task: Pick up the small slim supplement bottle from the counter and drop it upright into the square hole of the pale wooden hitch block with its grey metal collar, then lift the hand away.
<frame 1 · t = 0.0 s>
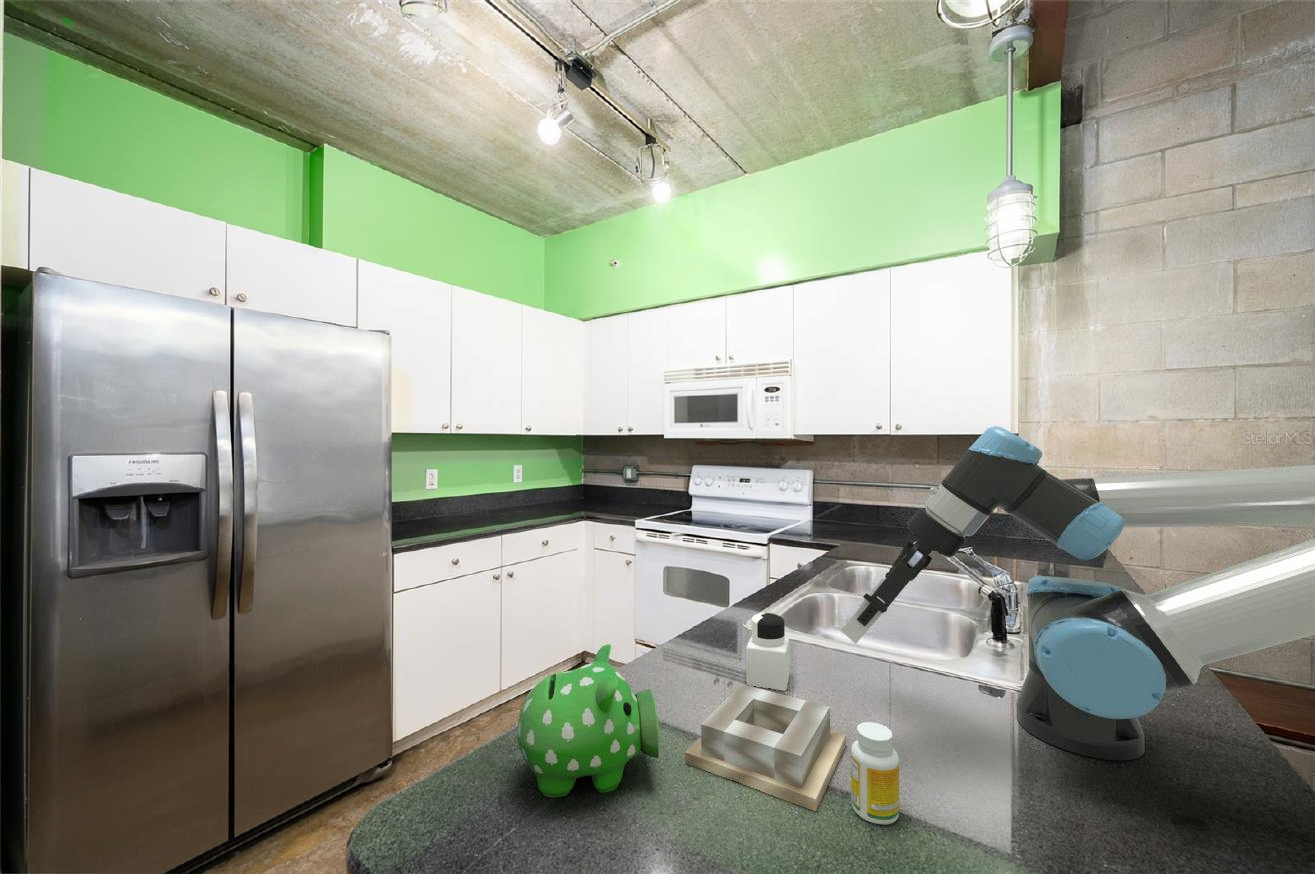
hand: (857, 622, 83), 15 cm above the countertop, tool tilted 35°, fingers open, 13 cm apart
supplement bottle: (875, 811, 62), on the countertop
hitch block: (767, 753, 74), on the countertop
piggy bank: (587, 776, 70), on the countertop
medicine bottle: (768, 681, 97), on the countertop
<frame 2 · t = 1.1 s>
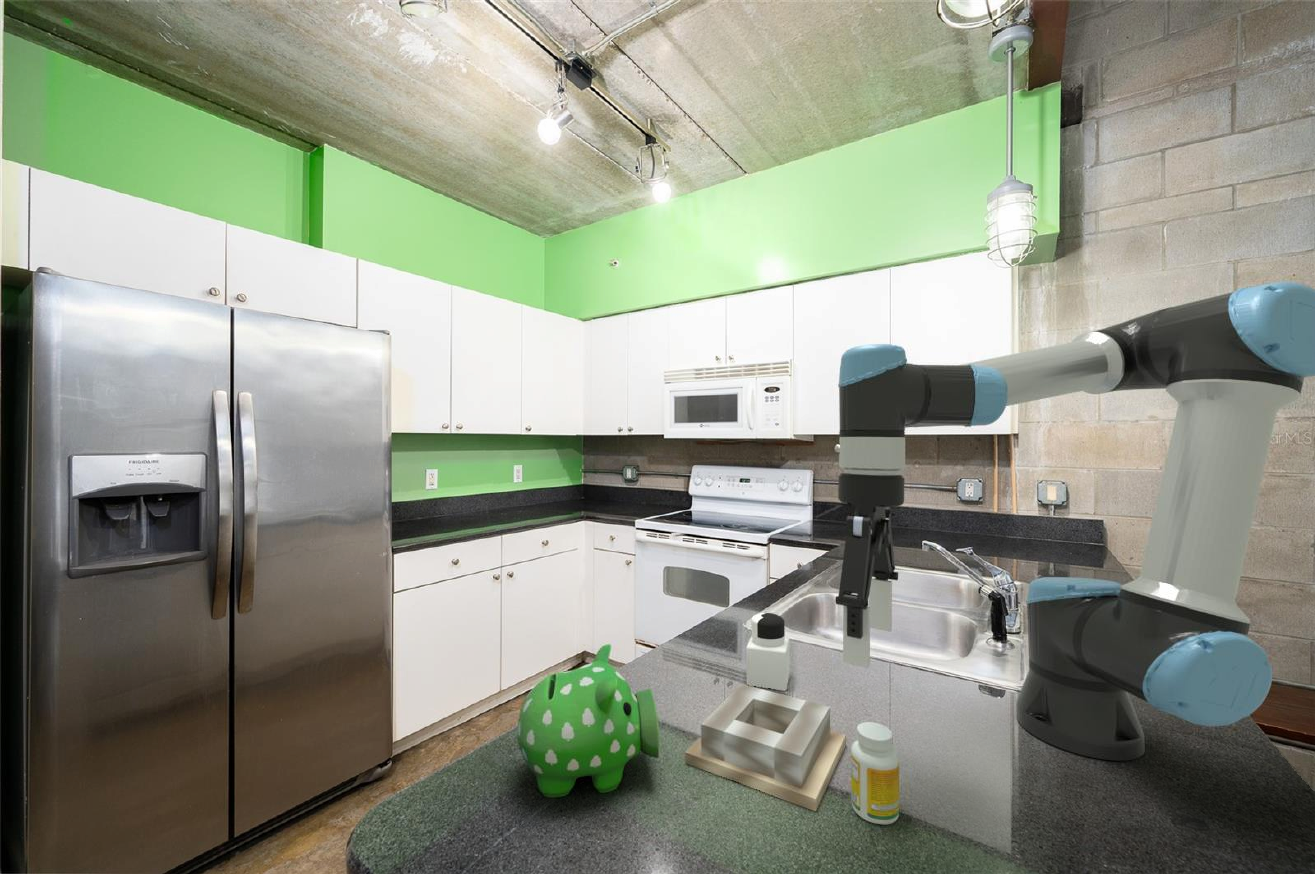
hand: (869, 645, 64), 19 cm above the countertop, tool pointing down, fingers open, 13 cm apart
nothing on the countertop moved.
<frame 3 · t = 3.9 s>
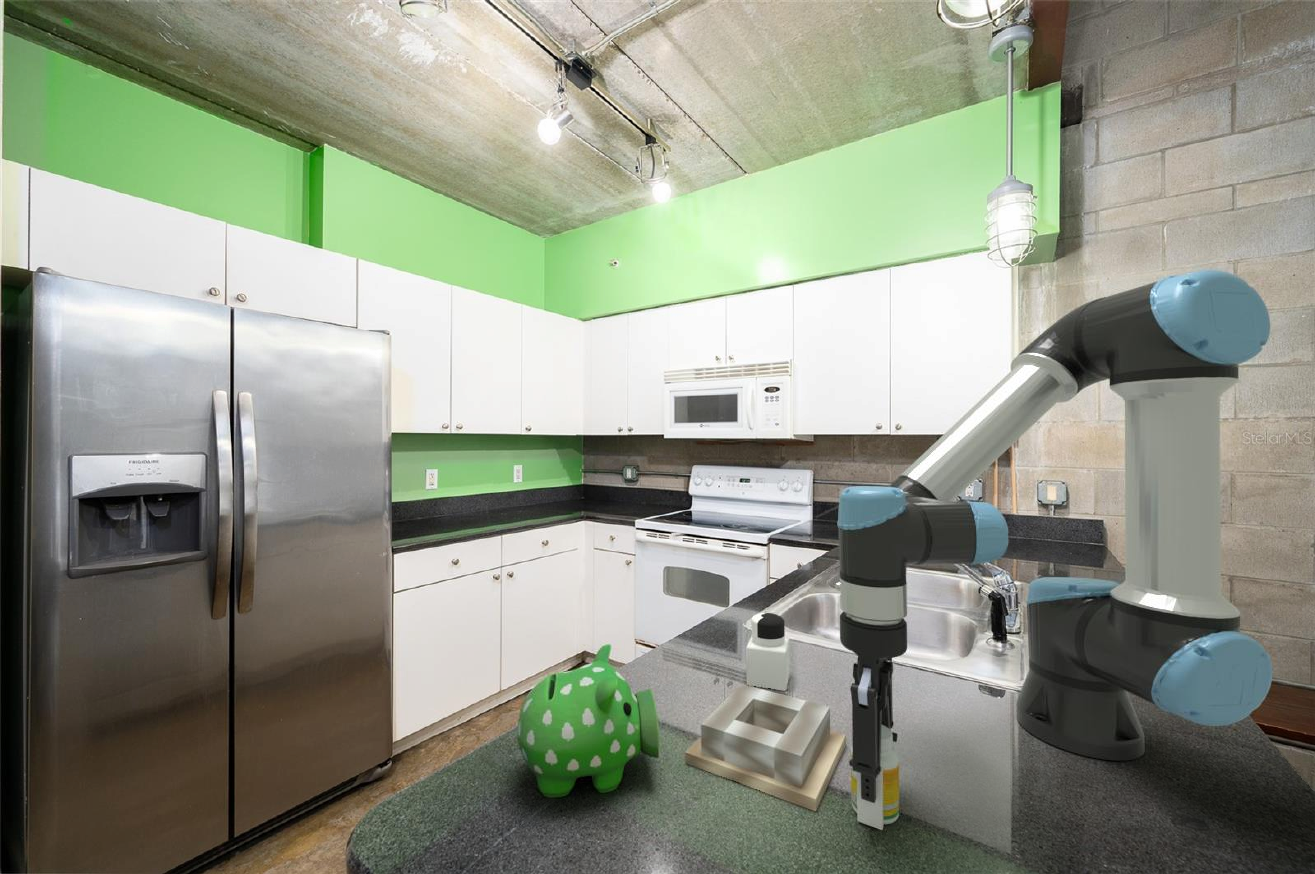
hand: (875, 807, 62), 0 cm above the countertop, tool pointing down, fingers closed on supplement bottle, 5 cm apart
supplement bottle: (875, 811, 62), on the countertop, touching gripper
everything else where it was.
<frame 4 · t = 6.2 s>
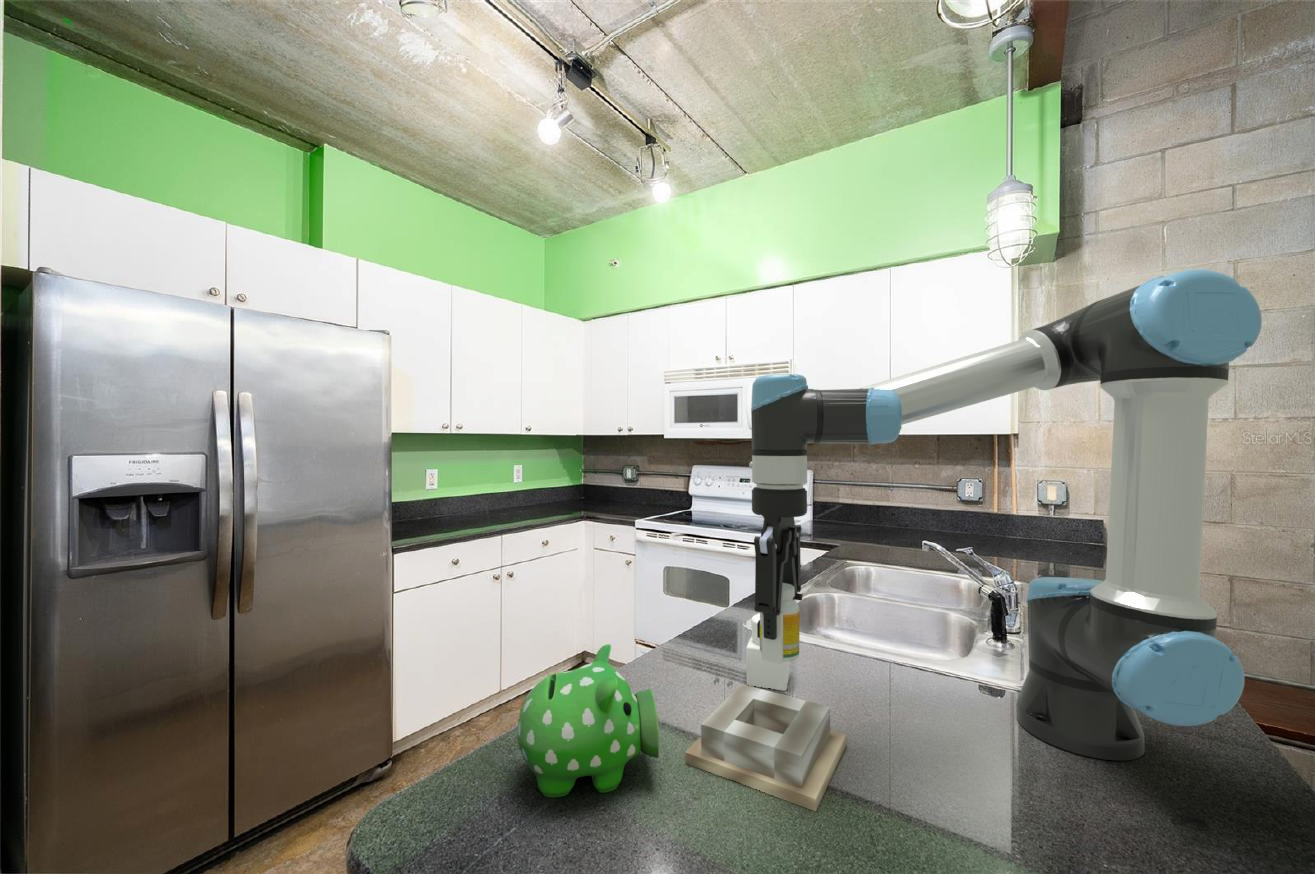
hand: (779, 652, 72), 15 cm above the countertop, tool pointing down, fingers closed on supplement bottle, 5 cm apart
supplement bottle: (779, 656, 72), point 15 cm above the countertop, touching gripper
everything else where it was.
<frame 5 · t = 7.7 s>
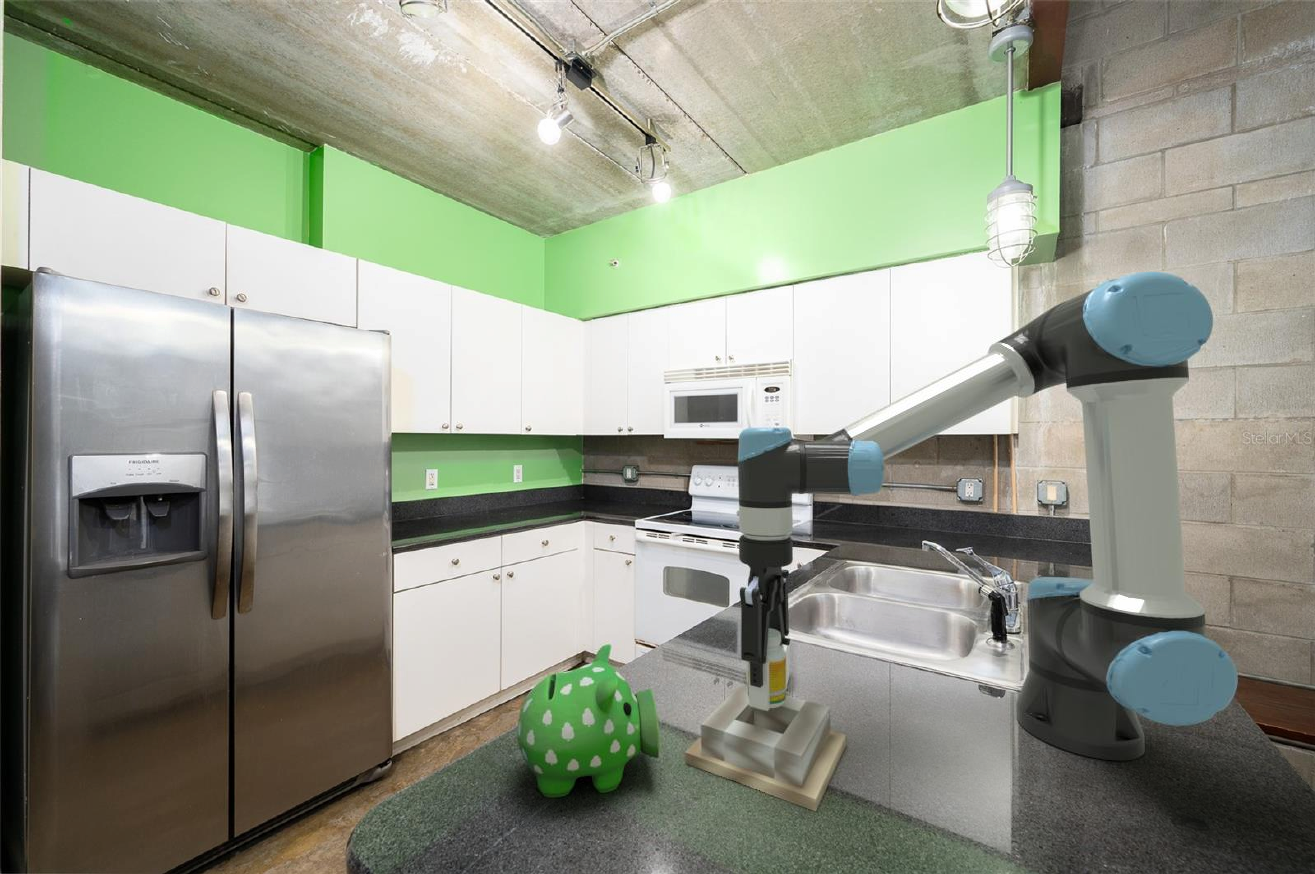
hand: (767, 697, 74), 8 cm above the countertop, tool pointing down, fingers closed on supplement bottle, 5 cm apart
supplement bottle: (766, 701, 74), point 7 cm above the countertop, touching gripper
everything else where it was.
when the fingers open (8 cm above the countertop, at t = 8.7 s): supplement bottle drops 6 cm, resting on hitch block.
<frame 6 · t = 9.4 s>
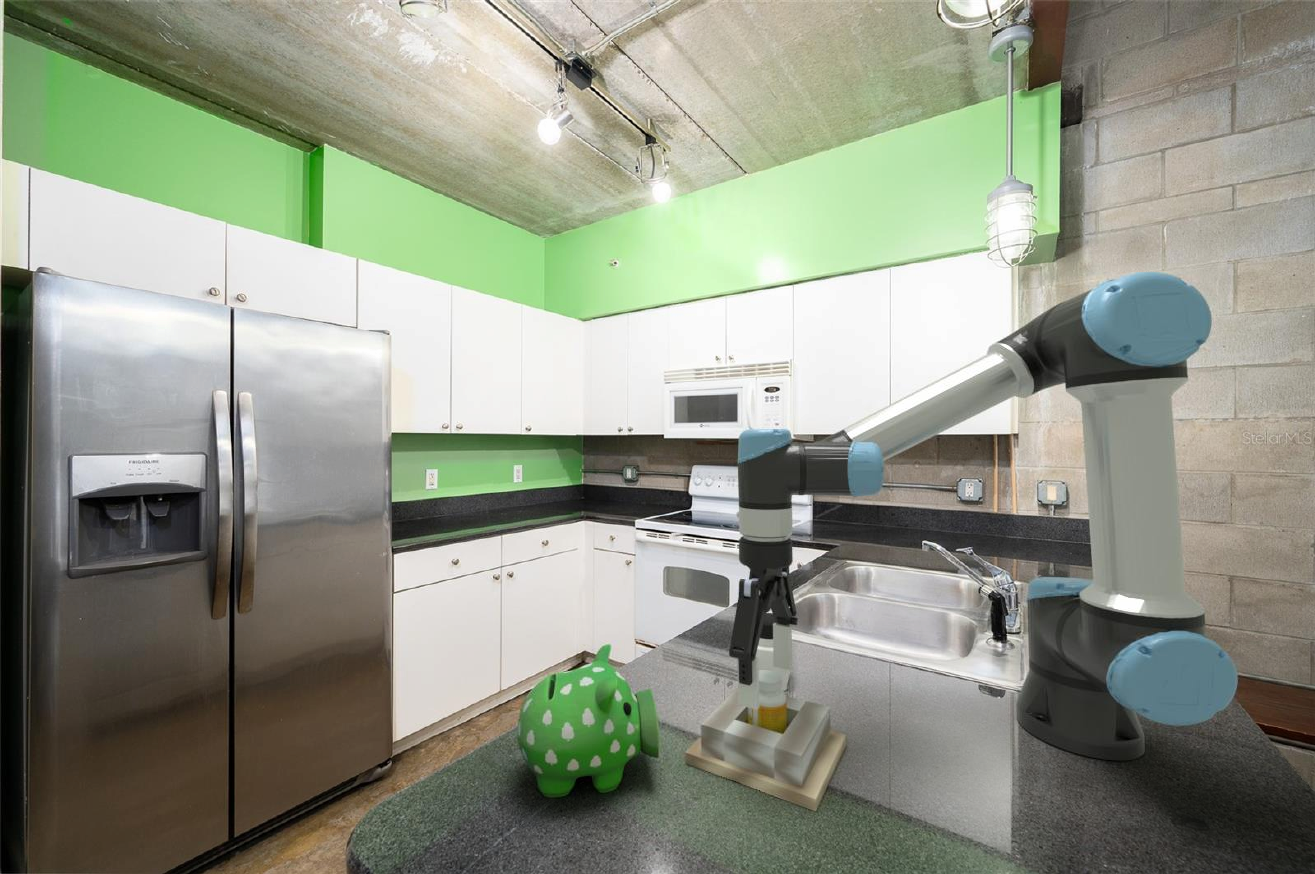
hand: (766, 685, 74), 10 cm above the countertop, tool pointing down, fingers open, 13 cm apart
supplement bottle: (767, 744, 74), point 1 cm above the countertop, touching hitch block
everything else where it was.
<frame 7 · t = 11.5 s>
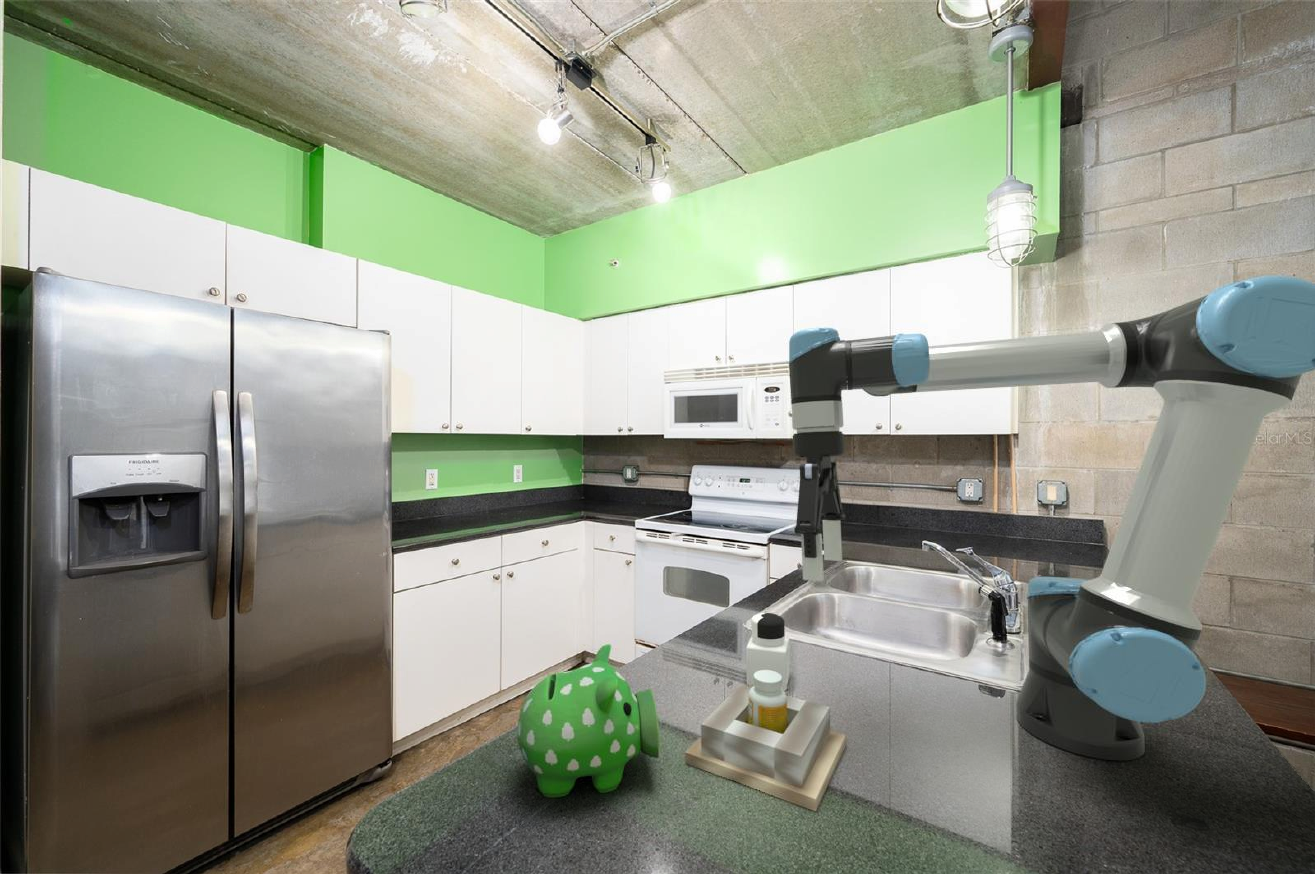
hand: (824, 569, 79), 25 cm above the countertop, tool pointing down, fingers open, 13 cm apart
nothing on the countertop moved.
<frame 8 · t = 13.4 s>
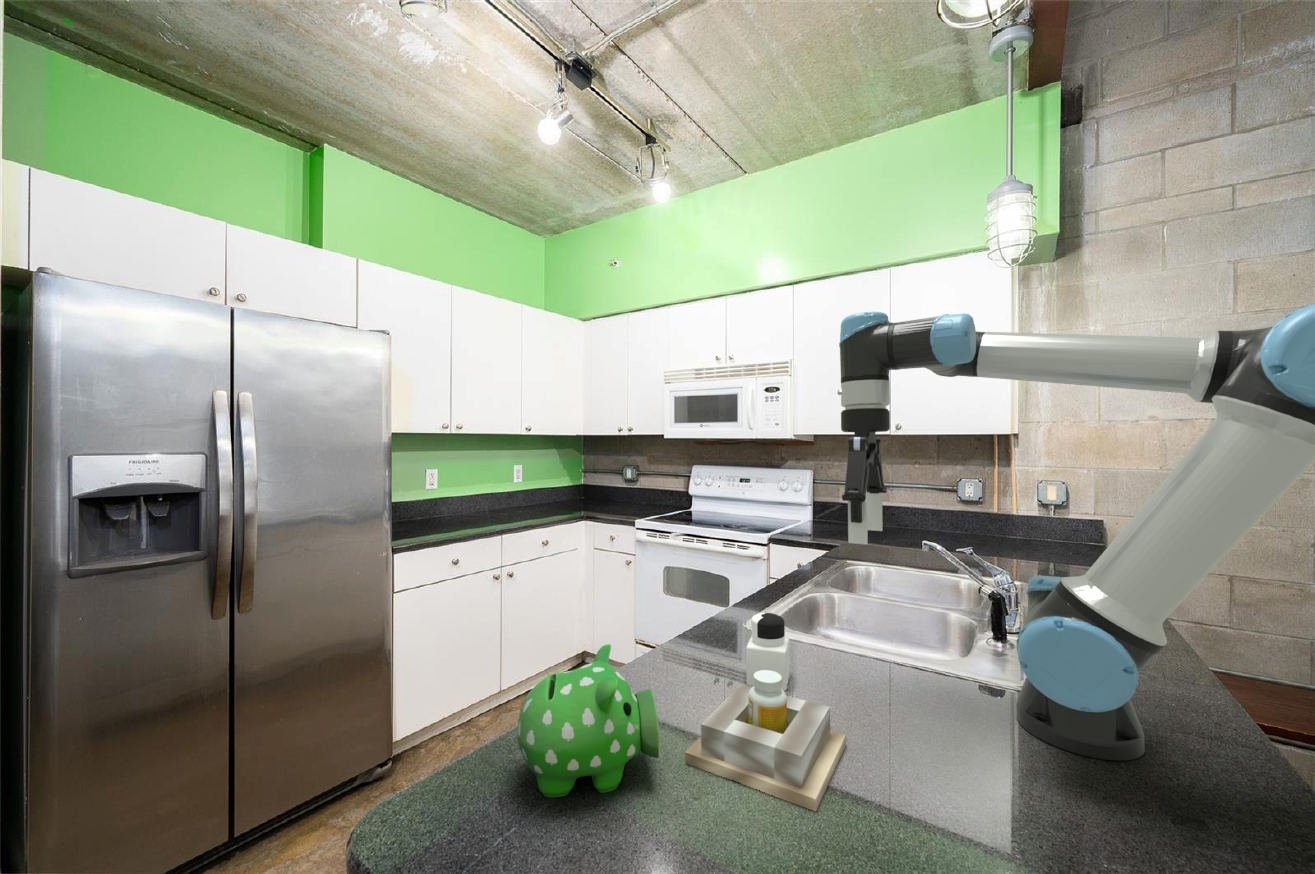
hand: (866, 536, 86), 29 cm above the countertop, tool pointing down, fingers open, 13 cm apart
nothing on the countertop moved.
at the end: supplement bottle 0.0 cm off-centre on the hitch block, point 1.3 cm above the hitch block's base; supplement bottle tilted 0°; the gripper is holding nothing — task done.
